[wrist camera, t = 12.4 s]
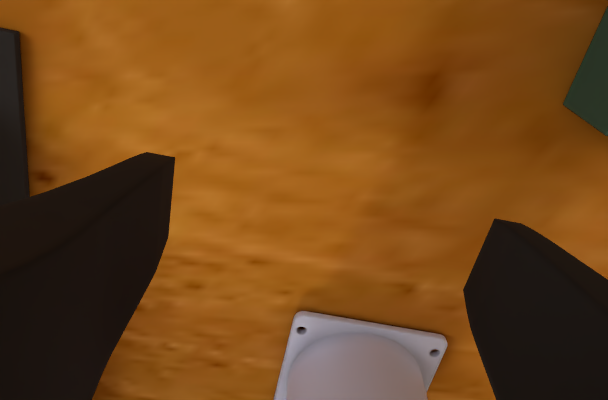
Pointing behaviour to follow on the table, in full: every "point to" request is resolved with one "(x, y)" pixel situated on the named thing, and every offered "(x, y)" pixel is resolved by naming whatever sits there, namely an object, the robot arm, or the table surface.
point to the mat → (12, 121)
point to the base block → (592, 82)
